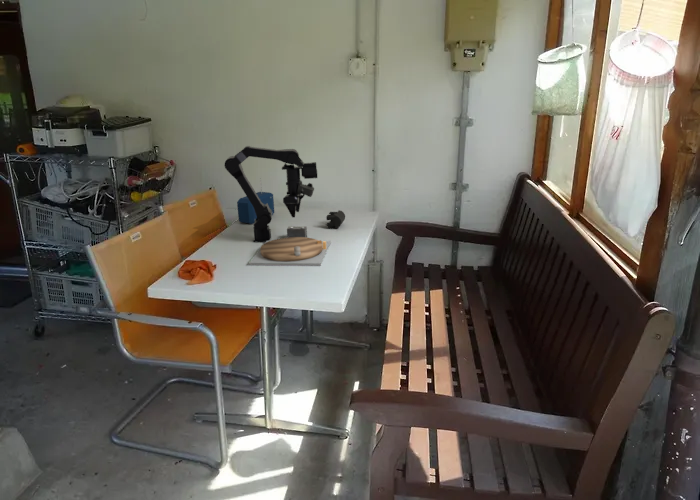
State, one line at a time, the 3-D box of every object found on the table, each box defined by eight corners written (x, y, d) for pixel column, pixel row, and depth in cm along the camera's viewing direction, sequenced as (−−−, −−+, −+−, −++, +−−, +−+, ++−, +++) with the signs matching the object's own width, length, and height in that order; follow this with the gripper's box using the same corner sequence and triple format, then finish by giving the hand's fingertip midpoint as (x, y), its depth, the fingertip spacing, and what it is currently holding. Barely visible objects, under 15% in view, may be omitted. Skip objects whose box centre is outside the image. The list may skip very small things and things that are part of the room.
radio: (262, 213, 285) (259, 175, 278) (276, 215, 281) (273, 176, 274) (236, 223, 267) (232, 183, 261) (251, 225, 263) (247, 184, 257)
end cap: (341, 229, 252) (341, 215, 250) (326, 229, 253) (326, 215, 251) (345, 223, 261) (345, 210, 259) (331, 223, 262) (330, 210, 260)
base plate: (248, 265, 209) (247, 255, 208) (266, 242, 236) (266, 234, 234) (320, 265, 206) (320, 255, 205) (330, 243, 233) (330, 234, 231)
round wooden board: (256, 245, 228) (255, 234, 227) (314, 238, 235) (313, 227, 234) (266, 264, 205) (265, 252, 204) (329, 256, 212) (329, 244, 211)
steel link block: (287, 239, 239) (286, 228, 238) (289, 237, 243) (288, 225, 241) (305, 240, 239) (304, 228, 237) (307, 237, 242) (306, 225, 241)
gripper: (308, 183, 223) (310, 220, 228) (315, 175, 240) (317, 209, 245) (281, 183, 224) (284, 220, 229) (290, 175, 242) (293, 209, 247)
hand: (295, 214), depth 237 cm, fingers open, 9 cm apart
